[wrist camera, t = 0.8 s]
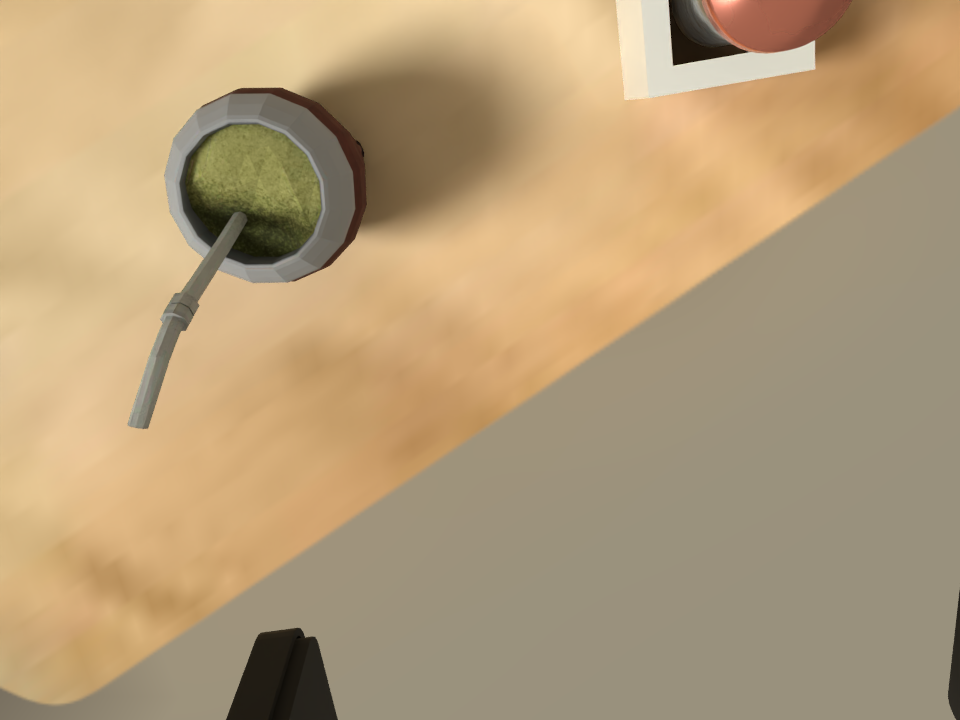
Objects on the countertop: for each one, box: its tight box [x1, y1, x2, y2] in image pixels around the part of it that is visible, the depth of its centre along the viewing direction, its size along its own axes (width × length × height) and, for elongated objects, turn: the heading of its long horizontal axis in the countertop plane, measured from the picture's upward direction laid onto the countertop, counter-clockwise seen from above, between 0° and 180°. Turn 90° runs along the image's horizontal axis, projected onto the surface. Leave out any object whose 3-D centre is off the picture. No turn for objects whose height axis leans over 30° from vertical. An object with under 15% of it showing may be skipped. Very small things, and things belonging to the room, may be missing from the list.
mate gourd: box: [128, 88, 367, 429], centre depth 25 cm, size 8×8×15 cm
